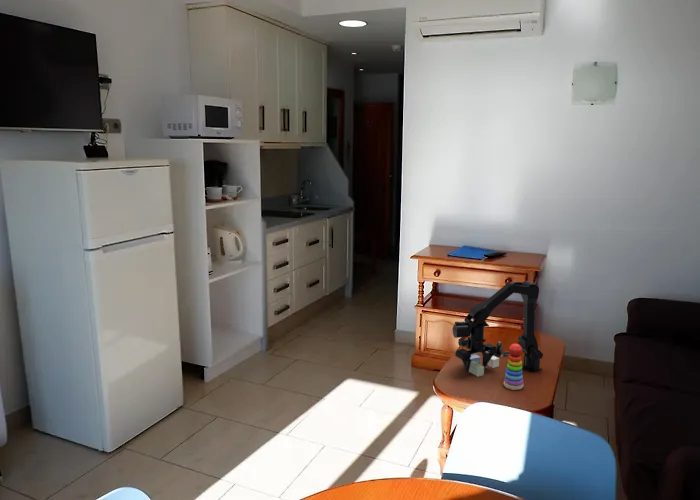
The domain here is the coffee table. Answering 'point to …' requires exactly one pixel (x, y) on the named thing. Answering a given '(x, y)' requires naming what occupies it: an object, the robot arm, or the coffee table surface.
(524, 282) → the robot arm
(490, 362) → the cream brick
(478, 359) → the slate brick
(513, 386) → the stacking toy
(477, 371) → the sage brick
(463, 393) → the coffee table surface
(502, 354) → the stuffed animal
